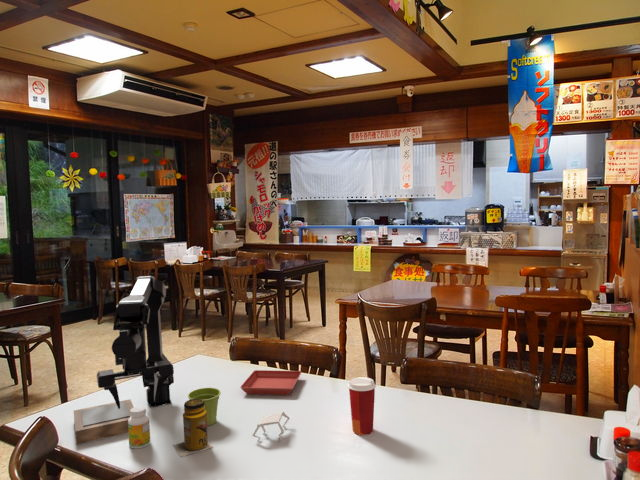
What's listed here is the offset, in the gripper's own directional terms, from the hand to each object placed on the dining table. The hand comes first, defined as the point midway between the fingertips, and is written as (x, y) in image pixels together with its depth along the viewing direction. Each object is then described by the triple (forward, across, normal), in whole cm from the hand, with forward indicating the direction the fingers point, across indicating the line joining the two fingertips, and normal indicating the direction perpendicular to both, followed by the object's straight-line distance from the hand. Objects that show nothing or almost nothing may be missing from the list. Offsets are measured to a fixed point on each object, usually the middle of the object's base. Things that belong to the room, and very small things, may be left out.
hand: (137, 404), depth 131 cm
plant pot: (+11, -19, -4) cm, 22 cm away
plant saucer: (+12, -47, -20) cm, 52 cm away
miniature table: (+11, -34, +14) cm, 38 cm away
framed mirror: (+11, +7, -17) cm, 21 cm away
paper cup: (+11, -55, +25) cm, 61 cm away
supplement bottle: (+11, 0, 0) cm, 11 cm away
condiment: (+11, -12, +9) cm, 19 cm away
